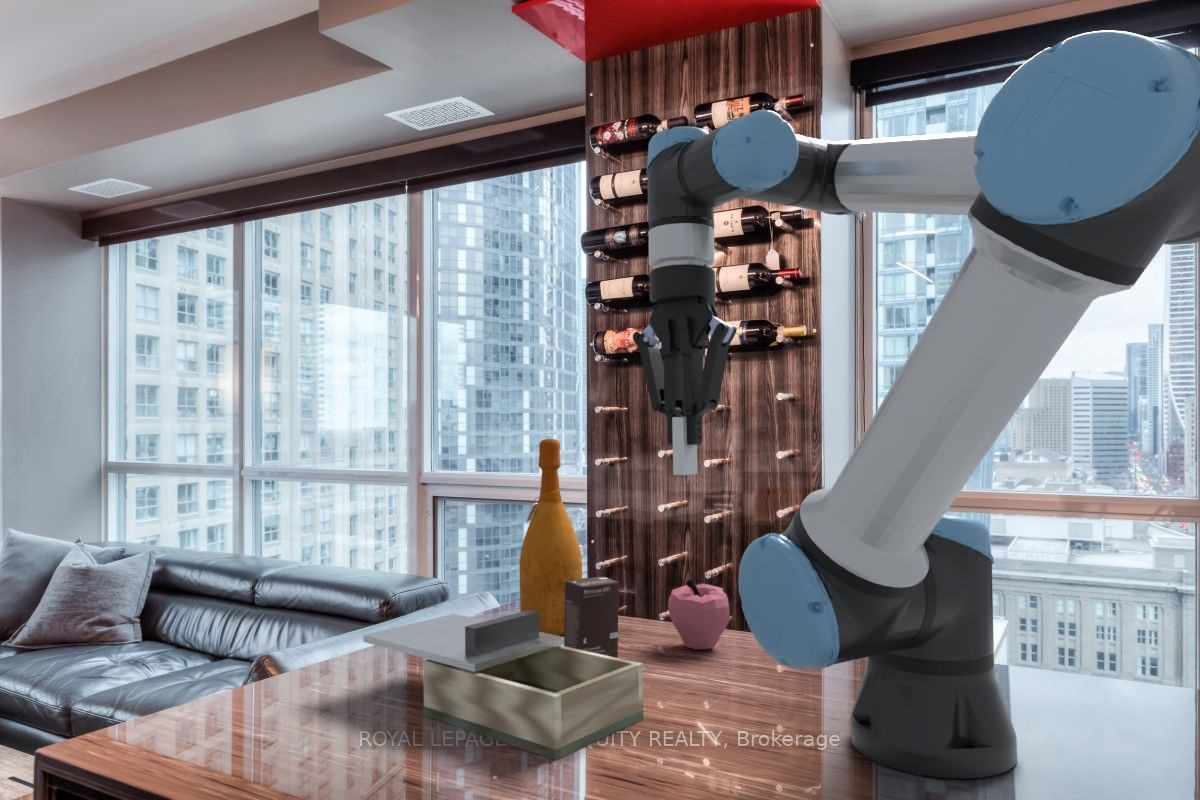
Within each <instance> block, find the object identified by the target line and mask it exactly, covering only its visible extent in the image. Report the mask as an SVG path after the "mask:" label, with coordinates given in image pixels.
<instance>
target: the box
mask: <svg viewBox="0 0 1200 800" xmlns="http://www.w3.org/2000/svg"><path fill="white" fill-rule="evenodd" d="M619 590H620V582H619V581H617V580H614V579H611V578H608V577H605V576H594V577H582V579H577V580H570V581H565V629H564V632H565V633H564V635H563V637H564V644H563V646H565V647H570V648H574V649H579V650H583V651H588V652H593V653H597V654H602V655H606V656H611V657H615V658H619V603H620V602H619V601H620V600H619V594H620V592H619Z"/></svg>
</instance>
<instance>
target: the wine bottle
mask: <svg viewBox="0 0 1200 800" xmlns="http://www.w3.org/2000/svg"><path fill="white" fill-rule="evenodd" d="M538 445H539V446H538V448H539V449H538V451H539V452H538V453H539V456H538V468H539V469H540V470H541V480H540V481H541V482H540V492H539V495H538V496H537V497H535V499H533V501H532V504H531V506H530V507H529V508H530V509H529V511H528V514H527V517H526V521H525V523H528V522H529V525H528V526H527V530H526V532H525V536H524V538H523V542H522V546H521V549H520V556H519V600H520V601H519V602H520V603H519V606H520V609H519V610H520V612H524V611H528V610H531V611H537V612H539V632H543V633H548V634H553V635H557V636H564V633H565V632H564V629H565V581H570V580H577V579H582V578H583V558H582V551H581V547H580V543H579V540H578V537H577V534H576V531H575V528H574V526H573V525H572V522H571V520H570V517H569V514H568V512H567V511H566V508H565V506H564V503H563V499H562V495H561V489H560V478H559V477H560V476H559V472H558V470H559V469H560V468H561V465H562V464H561V443H560V441H559V440H558V439H554V438H548V439H547V438H545V439H541V441H540V442H539V444H538ZM537 499H538V500H537ZM536 500H537V502H535V501H536Z"/></svg>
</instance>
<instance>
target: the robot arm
mask: <svg viewBox="0 0 1200 800" xmlns="http://www.w3.org/2000/svg"><path fill="white" fill-rule="evenodd" d="M647 153H648V154H647V157H648V158H647V166H646V171H645V172H646V176H647V178H646V179H647V207H648V208H647V211H648V213H647V214H648V265H649V266H650V267H651V268H652V270H651V271H650V272H649V274H648V275H649V276H648V277H649V278H648V279H649V280H648V281H649V301H650V303H651V307H652V310H651V314H650V317H649V324H648V325H647V326H646V327H645V328H644V329H643V330H642V331H636V332H634V333H633V334H632V339H633V341H634V343H635V345H636V347H637V349H638V351H639V354H640V359H641V362H642V363H641V364H642V368H643V373H644V377H645V382H646V387H647V391H648V396H649V400H650V405H651V409H652V411H653V412H658V413H661V414H663V415H664V416H665V418H666V424H667V425H666V428H667V429H666V431H667V432H666V433H667V444H668V445H669V446H672V470H673V471H672V475H674V476H675V475H676V476H688V475H689V476H690V475H698V447H697V446H698V445H702V443H703V416H704V415H705V414H707V413H708V412H711V411H715V410H716V409H718V407H719V401H720V395H721V390H722V383H723V379H724V374H725V369H726V365H727V364H726V362H727V358H728V352H729V349H730V346H731V342H732V341H733V340H734V337H735V336H736V334H737V331H738V330H737V326H736V325H734V324H728V323H726V322H725V321H724V320H723V319H720V318H719V315H718V311H717V310H716V308H715V303H714V302H715V299H716V271H715V270H714V269H713V268H712V267H711V266H712V265H714V263H715V219H714V217H715V215H714V214H715V207H719V206H722V205H725V204H727V203H730V202H733V201H735V200H739V199H742V200H743V199H744V200H749V201H756V202H757V201H758V202H761V203H762V202H764V203H767V204H775V205H779V206H785V207H789V206H790V207H796V208H800V209H801V208H802V209H806V210H812V211H815V212H816V211H817V212H822V213H824V214H826V215H827V214H828V215H836V216H845V215H846V216H854V215H857V214H860V213H881V214H882V213H885V214H886V213H887V214H911V215H912V214H914V215H915V214H917V215H944V216H946V215H947V216H967V218H968V221H969V225H970V228H971V232H972V235H973V238H974V242H973V243H974V244H973V246H972V248H971V249H970V252H969V253H968V255H967V257H966V258H965V260H964V262H963V263H962V265H961V267H960V269H959V271H958V272H957V274H956V275H955V277H954V279H953V281H952V282H951V284H950V286H949V287H948V289H947V291H946V293H945V294H944V296H943V298H942V299H941V301H940V303H939V304H938V306H937V308H936V310H935V312H934V313H933V315H932V316H931V318H930V320H929V321H928V323H927V325H926V327H925V328H924V330H923V332H922V334H921V335H920V337H919V339H918V341H916V344H915V345H914V347H913V349H912V351H911V352H910V354H909V356H908V357H907V359H906V360H905V362H904V364H903V365H902V368H901V369H900V370H899V373H898V375H897V377H896V378H895V379H894V381H893V383H892V385H891V386H890V389H888V392H887V393H886V395H885V397H884V398H883V400H882V402H881V403H880V405H879V407H878V408H877V411H876V412H875V414H874V415H873V417H872V419H871V421H870V422H869V424H868V426H867V428H866V429H865V431H864V432H863V434H862V436H861V437H860V439H859V441H858V443H857V444H856V445H855V448H854V450H853V452H852V453H851V454H850V456H849V457H848V460H847V462H846V463H845V465H844V466H843V468H842V470H841V472H840V473H839V475H838V477H837V478H836V480H835V482H834V483H833V486H832V487H831V488H822V489H817V490H815V491H813V492H810V493H809V494H808V495H807V496H806V497H805V498H804V499H803V500H802V503H800V506H799V508H798V509H797V511H796V513H795V515H794V516H793V518H792V519H791V522H790V523H789V525H788V527H787V528H786V529H785V531H783V532H782V533H780V534H779V533H775V532H774V533H773V532H771V533H766V534H764V535H763V536H761V537H758V538H756V539H755V540H753V541H752V542H750V544H749V545H748V546H746V547H747V548H746V549H745V551H744V552H743V554H742V556H741V560H740V564H739V570H738V593H739V596H740V600H741V608H742V612H743V615H744V618H745V620H746V623H747V626H748V627H749V629H750V631H751V633H752V635H753V637H754V638H755V640H756V641H757V642H758V644H759V646H760V647H761V648H762V650H764V651H765V653H766V654H767V655H768V656H770V657H771V658H772V659H773V660H775V661H776V662H778V663H779V664H781V665H783V666H785V667H790V668H791V669H797V670H805V669H806V670H807V669H811V668H817V669H825V668H829V667H831V666H832V667H833V665H838V664H841V663H842V664H843V663H847V662H849V661H850V662H851V661H855V660H856V661H857V660H859V659H864V658H867V659H866V666H865V668H864V669H865V670H864V671H863V676H862V677H861V679H862V680H861V683H860V685H859V689H858V691H857V695H856V697H855V700H854V704H853V707H852V710H851V714H850V722H849V723H850V742H851V744H852V745H853V747H854V748H855V749H856V750H857V751H858V752H859V753H861V754H862V755H863V756H865V757H866V758H868V759H870V760H871V761H874V762H877V763H878V764H882V765H883V766H886V767H889V768H892V769H896V770H899V771H903V772H906V773H910V774H916V775H921V776H928V777H933V778H942V779H944V778H945V779H978V778H979V779H980V778H988V777H993V776H997V775H1001V774H1003V773H1006V772H1009V770H1012V768H1014V767H1015V766H1016V764H1017V762H1018V745H1017V744H1018V741H1017V740H1018V739H1017V734H1016V731H1015V727H1014V724H1013V722H1012V720H1011V717H1010V714H1009V711H1008V709H1007V705H1006V703H1005V700H1004V697H1003V694H1002V692H1001V689H1000V686H999V684H998V681H997V677H996V674H995V656H994V655H995V654H994V653H995V652H994V651H995V645H994V644H995V643H994V608H993V607H994V605H993V600H994V598H993V565H994V562H995V560H994V556H993V555H992V548H991V536H990V532H989V528H988V527H987V526H986V525H985V524H984V523H983V521H981V520H979V519H977V518H972V517H964V516H955V515H946V512H947V511H948V510H949V508H950V507H951V505H952V504H953V502H954V501H955V499H956V498H957V496H958V495H959V494H960V492H961V491H962V490H963V488H964V486H966V485H967V482H968V481H969V479H970V478H971V477H972V475H973V473H974V472H975V471H976V469H977V468H978V466H979V465H980V464H981V462H982V461H983V459H984V458H985V456H986V455H987V453H989V451H990V449H991V448H992V446H993V445H994V443H995V442H996V441H997V439H998V438H999V436H1000V435H1001V434H1002V432H1003V430H1004V429H1005V428H1006V426H1008V423H1009V422H1010V421H1011V419H1012V418H1013V417H1014V415H1015V413H1016V412H1017V410H1018V409H1020V406H1021V404H1022V403H1023V402H1024V400H1025V399H1026V397H1027V396H1028V395H1029V393H1030V392H1031V391H1032V389H1033V387H1034V386H1035V385H1036V384H1037V382H1038V380H1039V379H1040V377H1041V376H1042V375H1043V373H1044V371H1045V370H1046V369H1047V367H1048V366H1049V365H1050V363H1051V362H1052V360H1053V359H1054V357H1055V356H1056V354H1057V353H1058V352H1059V350H1060V349H1061V347H1062V346H1063V344H1064V343H1065V341H1067V339H1068V337H1069V336H1070V335H1071V333H1072V331H1073V330H1074V329H1075V327H1076V326H1077V324H1078V323H1079V322H1080V320H1081V319H1082V317H1083V316H1084V314H1085V313H1086V312H1087V310H1088V308H1089V307H1090V306H1091V304H1092V303H1093V301H1094V300H1096V299H1098V298H1100V297H1104V296H1107V295H1112V294H1116V293H1119V292H1120V293H1121V292H1123V291H1128V290H1130V289H1132V288H1133V287H1134V286H1135V285H1136V282H1137V281H1138V280H1139V279H1140V277H1141V276H1142V274H1143V273H1144V272H1145V270H1146V269H1147V267H1148V266H1149V265H1150V263H1152V261H1153V260H1154V258H1155V257H1156V255H1157V254H1158V253H1159V251H1160V249H1161V248H1162V247H1163V245H1168V246H1169V245H1170V246H1173V245H1174V246H1177V245H1178V246H1179V245H1191V244H1197V243H1198V244H1199V243H1200V55H1198V54H1195V53H1193V52H1191V51H1190V50H1187V49H1186V48H1183V47H1181V46H1178V45H1176V44H1173V43H1171V42H1170V41H1169V40H1167V39H1157V38H1154V37H1149V36H1144V35H1141V34H1137V33H1133V32H1128V31H1123V30H1098V31H1097V30H1095V31H1091V32H1084V33H1081V34H1077V35H1075V36H1072V37H1069V38H1066V39H1065V40H1063V41H1060V42H1059V43H1057V44H1054V45H1053V46H1051V47H1047V48H1045V49H1043V50H1042V51H1040V52H1038V53H1036V54H1035V55H1033V56H1032V57H1031V58H1029V59H1028V60H1026V62H1024V63H1023V64H1022V65H1021V66H1019V67H1018V69H1016V70H1015V71H1014V72H1013V73H1012V74H1011V75H1010V76H1009V77H1008V78H1007V79H1006V80H1005V82H1003V84H1002V85H1001V86H1000V88H999V89H998V91H996V93H994V96H993V97H992V98H991V100H990V102H989V103H988V105H987V107H986V109H985V111H984V112H983V114H982V116H981V119H980V122H979V124H978V127H977V129H976V131H971V132H970V131H968V132H966V131H965V132H952V133H939V134H938V133H937V134H923V135H912V136H911V135H910V136H909V135H908V136H896V137H895V136H893V137H881V138H880V137H879V138H869V139H868V138H866V139H859V140H858V139H857V140H854V139H852V140H840V141H834V140H833V141H832V140H831V141H830V140H824V139H818V138H813V137H808V136H805V135H801V134H796V133H795V130H794V128H793V127H792V125H791V124H790V123H789V122H788V121H785V120H784V119H783V118H782V117H781V115H780V114H779V113H778V112H775V111H773V110H767V109H759V110H755V111H752V112H750V113H748V114H745V115H744V114H743V115H740V116H739V117H734V118H732V119H730V120H729V121H728V122H726V123H725V124H723V125H721V126H719V127H717V128H716V129H713V130H711V131H710V132H708V131H706V130H705V129H703V128H700V127H695V126H689V125H688V126H686V125H685V126H674V127H672V128H669V129H662V130H660V131H658V132H656V133H655V134H654V135H653V136H652V137H651V138H650V140H649V142H648V151H647ZM709 336H710V339H709V341H708V344H707V348H706V340H707V338H708V337H709ZM659 343H660V346H659ZM660 347H661V349H660ZM706 349H707V350H706ZM704 356H705V360H704ZM662 357H663V358H662Z"/></svg>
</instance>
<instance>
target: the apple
mask: <svg viewBox="0 0 1200 800" xmlns="http://www.w3.org/2000/svg"><path fill="white" fill-rule="evenodd" d="M685 583H686V584H685V585H682V586H680V587H677V588H674V589H672V590H671V593H670V595H669V598H668V601H667V603H668V605H667V610H668V615H669V618H670V620H671V622H672V624H673V626H674V627H675V630H676V632H677V633H678V634H679V636H680V638H681V640H682V643H683V645H684V646H685V647H687V648H690V649H693V650H695V651H697V650H700V651H705V650H710V649H713V648H715V647H716V645H717V643H718V641H719V640H720V637H721V635H722V634H723V633H724V631H725V630H726V628H727V626H728V625H729V622H730V620H731V617H730V613H731V612H730V604H729V597H728V594H727V593H725V592H724V588H723V587H720V586H714V585H713V584H706V583H699V584H696V583H695V582H694V581H693V580H692V579H688V580H687V581H686V582H685Z"/></svg>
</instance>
